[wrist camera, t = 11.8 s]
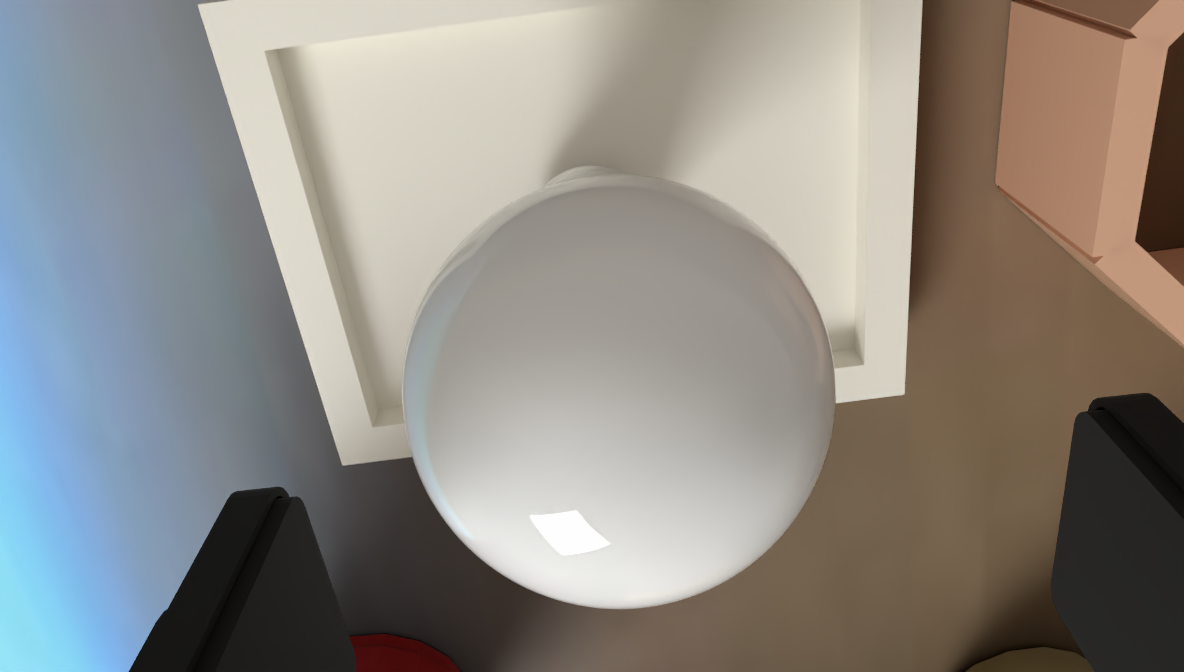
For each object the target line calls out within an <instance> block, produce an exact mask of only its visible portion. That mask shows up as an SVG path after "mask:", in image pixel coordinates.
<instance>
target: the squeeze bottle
mask: <svg viewBox="0 0 1184 672" xmlns="http://www.w3.org/2000/svg"><path fill="white" fill-rule="evenodd" d="M966 672H1094V670H1093V668H1092V667H1091V665H1090V664H1089V662H1088V660H1086V659H1085V658H1083V657H1082V656H1080V655H1079V654H1077V653H1076V652H1070V651H1065V650H1059V649H1053V648H1048V647H1039V648H1031V649H1023V650H1015V651H1008V652H1005V653H1003V654H1000V655H998V656H995V657H993V658H990V659H988V660H986V661H983V662H981V663H978V664H976V665H974V666H972V667H971V668H970V669H969V670H967V671H966Z"/></svg>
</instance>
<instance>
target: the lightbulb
mask: <svg viewBox="0 0 1184 672" xmlns="http://www.w3.org/2000/svg"><path fill="white" fill-rule="evenodd" d="M402 406H403V417H404V424H405V430H406V435H407V440H408V444H409V448H410V451H411V454H412V458H413V461H414V464H415V466H416V469H417V472H418V474H419V477H420V479H421V481H422V483H423V485H424V487H425V490H426V492H427V494H428V495H429V497H430V499H431V501H432V503H433V504H434V506H435V507H436V509H437V510H438V512H439V514H440V515H441V517H442V518H443V519H444V521H445V522H446V523H447V525H448V526H449V527H450V528H451V530H452V531H453V532H454V533H455V534H456V536H457V537H458V538H459V539H460V540H461V541H462V542H463V543H464V544H465V545H466V546H467V547H468V548H469V549H470V550H471V551H472V552H473V553H474V554H475V555H476V556H478V557H479V558H480V559H481V560H482V561H484V562H485V563H486V564H487V565H489V566H490V567H491V568H493V569H494V570H496V571H497V572H499V573H500V574H502V575H503V576H505V577H507V578H508V579H510V580H512V581H513V582H515V583H517V584H519V585H521V586H523V587H525V588H527V589H529V590H531V591H534V592H536V593H539V594H541V595H544V596H547V597H549V598H552V599H555V600H559V601H562V602H566V603H570V604H575V605H580V606H586V607H593V608H603V609H636V608H646V607H653V606H659V605H664V604H669V603H673V602H676V601H680V600H683V599H686V598H689V597H692V596H695V595H698V594H700V593H703V592H705V591H707V590H709V589H712V588H714V587H716V586H718V585H720V584H722V583H724V582H725V581H727V580H729V579H731V578H732V577H734V576H735V575H737V574H739V573H740V572H741V571H743V570H744V569H746V568H747V567H748V566H750V565H751V564H752V563H754V562H755V561H756V560H757V559H759V558H760V557H761V556H762V555H763V554H764V553H766V552H767V551H768V550H769V549H770V548H771V547H772V546H773V545H774V544H775V543H776V542H777V541H778V540H779V539H780V537H781V536H782V535H783V534H784V533H785V532H786V530H787V529H788V528H789V527H790V525H791V524H792V523H793V521H794V520H795V519H796V517H797V516H798V514H799V513H800V511H801V510H802V508H803V507H804V505H805V504H806V502H807V500H808V498H809V496H810V495H811V493H812V491H813V489H814V487H815V485H816V483H817V480H818V478H819V476H820V473H821V471H822V468H823V466H824V463H825V460H826V457H827V453H828V450H829V446H830V442H831V437H832V432H833V426H834V418H835V408H836V379H835V367H834V360H833V353H832V348H831V344H830V339H829V335H828V332H827V328H826V325H825V322H824V319H823V316H822V314H821V311H820V309H819V306H818V304H817V302H816V300H815V298H814V296H813V293H812V291H811V290H810V288H809V286H808V284H807V282H806V281H805V279H804V277H803V276H802V274H801V273H800V271H799V270H798V268H797V267H796V265H795V264H794V263H793V261H792V260H791V259H790V257H789V256H788V255H787V254H786V252H785V251H784V250H783V249H782V248H781V247H780V245H779V244H778V243H777V242H776V241H775V240H774V239H773V238H772V237H771V236H770V235H769V234H768V233H767V232H766V231H765V230H763V229H762V228H761V227H760V226H759V225H758V224H756V223H755V222H754V221H753V220H751V219H750V218H749V217H748V216H746V215H745V214H743V213H742V212H740V211H739V210H737V209H736V208H734V207H733V206H731V205H729V204H728V203H726V202H724V201H722V200H721V199H719V198H717V197H715V196H713V195H711V194H708V193H706V192H704V191H701V190H699V189H696V188H694V187H691V186H688V185H685V184H682V183H679V182H675V181H671V180H667V179H662V178H657V177H651V176H644V175H633V174H623V173H622V172H620V171H618V170H615V169H613V168H609V167H605V166H599V165H585V166H579V167H575V168H571V169H569V170H566V171H564V172H562V173H560V174H559V175H557V176H556V177H554V178H553V179H551V180H550V181H549V182H548V183H547V184H546V185H545V186H544V187H543V188H541V189H538V190H536V191H533V192H531V193H529V194H527V195H525V196H523V197H521V198H519V199H517V200H515V201H513V202H511V203H510V204H508V205H506V206H505V207H503V208H501V209H500V210H498V211H497V212H495V213H494V214H493V215H491V216H490V217H488V218H487V219H486V220H485V221H483V222H482V223H481V224H480V225H479V226H477V227H476V228H475V229H474V230H473V231H472V232H471V233H470V234H469V235H468V236H466V237H465V238H464V240H463V241H462V242H461V243H460V244H459V245H458V246H457V247H456V248H455V249H454V251H453V252H452V253H451V254H450V255H449V257H448V258H447V259H446V261H445V262H444V263H443V265H442V266H441V267H440V269H439V270H438V272H437V274H436V275H435V277H434V278H433V280H432V282H431V283H430V285H429V287H428V289H427V291H426V293H425V295H424V297H423V299H422V301H421V303H420V305H419V308H418V310H417V313H416V315H415V318H414V321H413V324H412V327H411V330H410V334H409V338H408V342H407V346H406V351H405V357H404V364H403V373H402Z"/></svg>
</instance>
